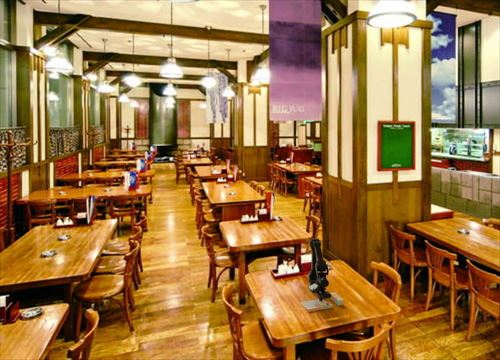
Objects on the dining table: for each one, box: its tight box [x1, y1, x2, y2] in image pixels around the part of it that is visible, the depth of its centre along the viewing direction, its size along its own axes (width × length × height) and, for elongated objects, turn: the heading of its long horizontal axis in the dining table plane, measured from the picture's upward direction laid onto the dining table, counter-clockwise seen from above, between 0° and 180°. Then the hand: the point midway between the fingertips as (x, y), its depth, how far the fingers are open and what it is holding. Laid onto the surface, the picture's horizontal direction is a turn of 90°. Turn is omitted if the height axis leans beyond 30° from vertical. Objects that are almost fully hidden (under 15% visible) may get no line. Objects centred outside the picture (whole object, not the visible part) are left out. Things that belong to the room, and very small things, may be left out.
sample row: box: [329, 291, 344, 307], centre depth 248 cm, size 11×5×5 cm, turn 18°
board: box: [299, 298, 333, 313], centre depth 243 cm, size 13×18×3 cm
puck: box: [319, 300, 328, 306], centre depth 242 cm, size 5×5×2 cm
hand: (320, 301), depth 245 cm, fingers closed
